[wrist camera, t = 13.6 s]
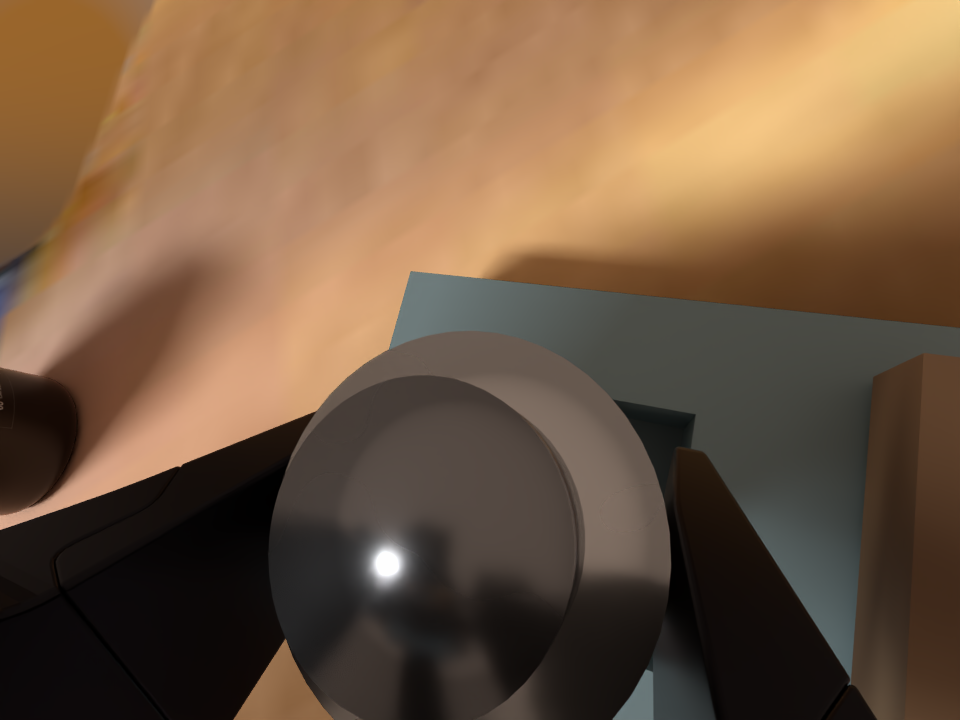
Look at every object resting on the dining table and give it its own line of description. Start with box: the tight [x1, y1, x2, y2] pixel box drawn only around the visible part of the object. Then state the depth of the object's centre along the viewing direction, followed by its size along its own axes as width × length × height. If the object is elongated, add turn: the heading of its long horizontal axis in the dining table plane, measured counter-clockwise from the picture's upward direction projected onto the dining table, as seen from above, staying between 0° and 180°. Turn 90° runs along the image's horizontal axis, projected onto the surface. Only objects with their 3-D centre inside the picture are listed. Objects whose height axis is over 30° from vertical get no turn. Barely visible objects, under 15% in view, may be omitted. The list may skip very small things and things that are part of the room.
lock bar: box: [851, 353, 960, 720], centre depth 9 cm, size 9×2×2 cm, turn 166°
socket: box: [389, 271, 960, 720], centre depth 13 cm, size 12×18×4 cm, turn 76°
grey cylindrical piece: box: [268, 331, 671, 720], centre depth 9 cm, size 5×5×10 cm
